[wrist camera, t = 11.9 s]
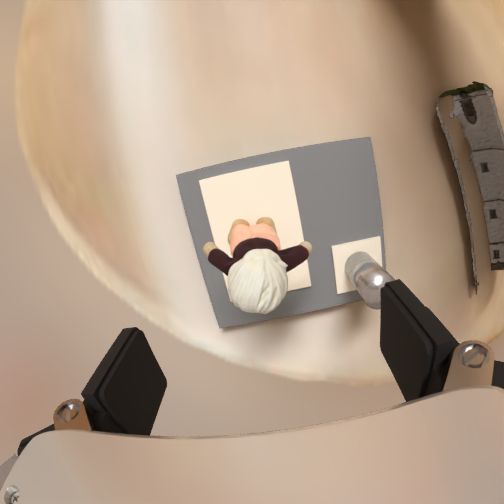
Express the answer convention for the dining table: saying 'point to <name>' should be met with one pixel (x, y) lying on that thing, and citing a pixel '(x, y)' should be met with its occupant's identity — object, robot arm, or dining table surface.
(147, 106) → the dining table surface
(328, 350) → the dining table surface
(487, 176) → the model building
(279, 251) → the grandmother figurine
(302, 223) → the board
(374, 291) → the pin
